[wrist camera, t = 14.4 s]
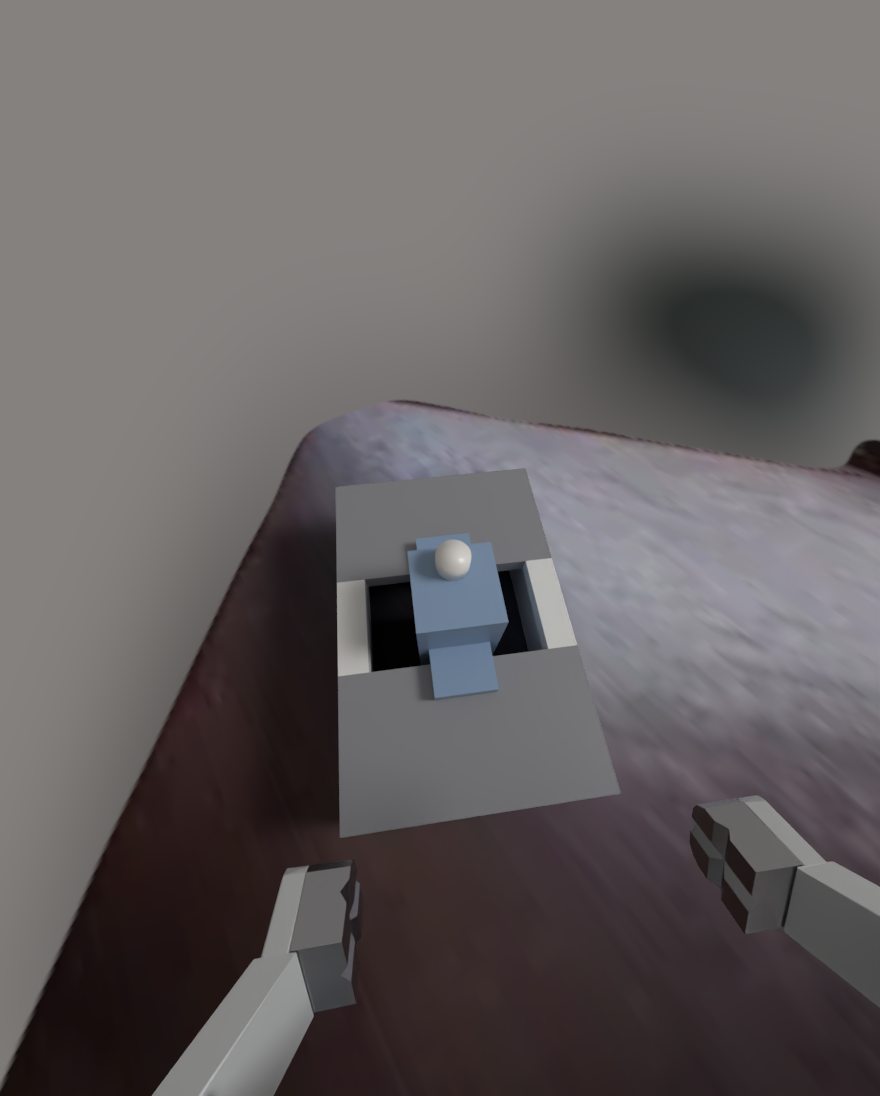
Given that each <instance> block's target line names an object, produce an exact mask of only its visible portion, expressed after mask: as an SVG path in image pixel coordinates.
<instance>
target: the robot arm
mask: <svg viewBox="0 0 880 1096" xmlns="http://www.w3.org/2000/svg"><path fill="white" fill-rule="evenodd" d="M692 818H693V819H694V820H695V822H696V823H697V824H696V825H695V826H694V827H693V829H692V830H691V831H690V845H691V849H692V852H693V856H694V858H695V860H696V862H697V864H698V866H699V867H700V869H701V870H702V872H703V873H704V875H705V877H706V878H707V879H708V880H710V881H711V882H713V883H714V884H716V885H717V886H718V887H720V888H721V900H722V902H723V903H724V904H725V906H726V907H727V909H728V910H729V912H730V913H731V915H732V916H733V918H734V919H735V920H736V922H737V923H738V925H739V926H740V928H741V929H742V931H743V932H744V934H750V933H757V932H764V931H771V930H778V929H784V932H785V933H786V934H787V935H789V936H790V937H791V938H792V939H794V940H795V941H796V942H797V943H799V944H800V945H801V946H802V947H804V948H805V949H806V950H807V951H809V952H810V953H811V954H813V955H814V956H815V957H816V958H818V959H819V960H820V961H821V962H823V963H824V964H825V965H826V966H828V967H829V968H830V969H831V970H833V971H834V972H835V973H836V974H838V975H839V976H840V977H841V978H843V979H844V980H845V981H846V982H848V983H849V984H850V985H852V986H853V987H854V988H855V989H857V990H858V991H859V992H860V993H862V994H863V995H864V996H865V997H867V998H868V999H869V1000H870V1001H872V1002H873V1003H874V1004H875V1005H877V1006H878V1007H879V1008H880V887H879V886H877V885H876V884H874V883H872V882H870V881H868V880H866V879H865V878H863V877H861V876H859V875H857V874H855V873H854V872H852V871H850V870H848V869H846V868H844V867H843V866H841V865H839V864H837V863H835V862H833V861H831V862H826V861H825V860H824V859H823V858H822V857H821V856H820V855H819V854H818V853H817V852H816V851H815V850H814V849H813V848H812V847H811V846H810V845H809V844H808V843H807V842H806V841H805V840H804V839H803V838H802V837H801V836H800V835H799V834H798V833H797V832H796V831H795V830H794V829H793V828H792V827H791V826H790V825H789V824H788V823H787V822H786V821H785V820H784V819H783V818H782V817H781V816H780V815H779V814H778V813H777V812H776V811H775V810H774V809H773V808H772V807H771V806H770V805H769V804H768V803H767V802H766V801H765V800H764V799H763V798H761V797H759V796H758V795H756V796H748V797H743V798H737V799H734V798H732V799H726V800H721V801H715V802H709V803H704V804H698V805H696V806H695V807H694V808H693V812H692ZM356 876H357V867H356V863H355V859H353V860H346V861H338V862H330V863H323V864H315V865H307V866H300V867H294V868H287V870H286V871H285V873H284V875H283V877H282V881H281V884H280V888H279V892H278V896H277V899H276V903H275V907H274V911H273V914H272V918H271V922H270V925H269V929H268V933H267V937H266V940H265V944H264V948H263V952H262V955H261V958H256V959H253V961H252V962H251V963H250V965H249V966H248V967H247V969H246V970H245V971H244V973H243V974H242V975H241V977H240V978H239V979H238V981H237V982H236V983H235V985H234V986H233V987H232V989H231V990H230V991H229V993H228V994H227V995H226V997H225V998H224V999H223V1001H222V1002H221V1004H220V1005H219V1006H218V1008H217V1009H216V1010H215V1012H214V1013H213V1014H212V1016H211V1017H210V1018H209V1020H208V1021H207V1022H206V1024H205V1025H204V1026H203V1028H202V1029H201V1030H200V1032H199V1033H198V1034H197V1036H196V1037H195V1038H194V1040H193V1041H192V1042H191V1044H190V1045H189V1046H188V1048H187V1049H186V1050H185V1052H184V1053H183V1054H182V1056H181V1057H180V1058H179V1060H178V1061H177V1062H176V1064H175V1065H174V1066H173V1068H172V1069H171V1070H170V1072H169V1073H168V1075H167V1076H166V1077H165V1079H164V1080H163V1081H162V1083H161V1084H160V1085H159V1087H158V1088H157V1089H156V1091H155V1092H154V1093H153V1095H152V1096H274V1094H275V1092H276V1090H277V1088H278V1086H279V1084H280V1082H281V1080H282V1078H283V1076H284V1074H285V1072H286V1070H287V1068H288V1066H289V1064H290V1062H291V1060H292V1058H293V1056H294V1054H295V1052H296V1050H297V1048H298V1047H299V1045H300V1043H301V1041H302V1039H303V1037H304V1035H305V1033H306V1031H307V1029H308V1027H309V1025H310V1023H311V1021H312V1019H313V1017H314V1015H313V1013H314V1012H319V1011H324V1010H328V1009H333V1008H337V1007H342V1006H347V1005H351V1004H356V996H357V984H358V972H359V958H358V953H357V948H356V945H357V943H358V941H359V940H360V938H361V934H362V893H361V887H360V884H359V883H358V882H356Z"/></svg>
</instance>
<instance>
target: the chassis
mask: <svg viewBox="0 0 880 1096" xmlns="http://www.w3.org/2000/svg"><path fill="white" fill-rule="evenodd" d="M463 533H469V536H470V542H471V544H477V543H486V542H491V544H492V549H493V553H494V558H495V562H496V567H497V571H498V572H499V571H507V570H509V571H510V576H511V580H512V584H513V588H514V593H515V597H516V601H517V606H518V610H519V614H520V618H521V623H522V627H523V631H524V635H525V640H526V644H527V648H528V652H521V653H514V654H506V655H498V656H493V661H494V666H495V671H496V677H497V682H498V687H499V690H498V691H497V692H492V693H485V694H478V695H471V696H463V697H456V698H449V699H442V700H435V698H434V690H433V681H432V673H431V665H422V666H414V667H407V668H399V669H391V670H384V671H376V672H374V669H373V650H372V631H371V612H370V593H369V587H370V586H379V585H387V584H396V583H404V582H411V580H410V571H409V562H408V552H407V551H414V550H417V547H416V539H418V538H427V537H436V536H445V535H454V534H463ZM336 554H337V640H338V726H339V812H340V838H343V837H349V836H356V835H362V834H368V833H375V832H381V831H387V830H394V829H400V828H406V827H413V826H419V825H425V824H432V823H438V822H444V821H451V820H457V819H463V818H469V817H476V816H482V815H488V814H495V813H501V812H507V811H514V810H520V809H526V808H533V807H539V806H545V805H552V804H558V803H564V802H571V801H577V800H583V799H590V798H596V797H602V796H609V795H615V794H621V792H620V789H619V785H618V782H617V779H616V775H615V772H614V768H613V765H612V762H611V758H610V755H609V751H608V748H607V745H606V741H605V738H604V734H603V731H602V728H601V724H600V721H599V717H598V714H597V711H596V707H595V704H594V700H593V697H592V694H591V690H590V687H589V683H588V680H587V677H586V673H585V670H584V666H583V663H582V660H581V656H580V653H579V649H578V646H577V643H576V639H575V636H574V632H573V629H572V626H571V622H570V619H569V615H568V612H567V609H566V605H565V602H564V598H563V595H562V592H561V588H560V585H559V581H558V578H557V575H556V571H555V568H554V564H553V561H552V558H551V554H550V551H549V547H548V544H547V541H546V537H545V534H544V530H543V527H542V524H541V520H540V517H539V513H538V510H537V507H536V503H535V500H534V496H533V493H532V490H531V486H530V483H529V479H528V476H527V473H526V469H525V468H523V469H513V470H503V471H493V472H483V473H473V474H463V475H453V476H443V477H432V478H422V479H412V480H402V481H392V482H382V483H372V484H362V485H352V486H342V487H336Z"/></svg>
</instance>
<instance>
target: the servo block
mask: <svg viewBox="0 0 880 1096" xmlns="http://www.w3.org/2000/svg"><path fill="white" fill-rule="evenodd" d="M416 547H417V550H414V551H407V552H408V562H409V571H410V580H411V590H412V599H413V609H414V618H415V627H416V636H417V643H418V650H419V657H420V664H421V666H422V665H431V673H432V681H433V690H434V698H435V700H442V699H449V698H456V697H463V696H471V695H478V694H485V693H492V692H497V691H498V690H499V687H498V682H497V677H496V671H495V666H494V661H493V654H494V652H495V649H496V647H497V645H498V643H499V641H500V639H501V637H502V635H503V633H504V631H505V629H506V627H507V624H508V622H509V621H508V617H507V612H506V608H505V603H504V599H503V594H502V590H501V585H500V581H499V576H498V571H497V567H496V562H495V558H494V553H493V549H492V544H491V542H486V543H477V544H471V542H470V536H469V533H463V534H454V535H445V536H436V537H427V538H418V539H416Z"/></svg>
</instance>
